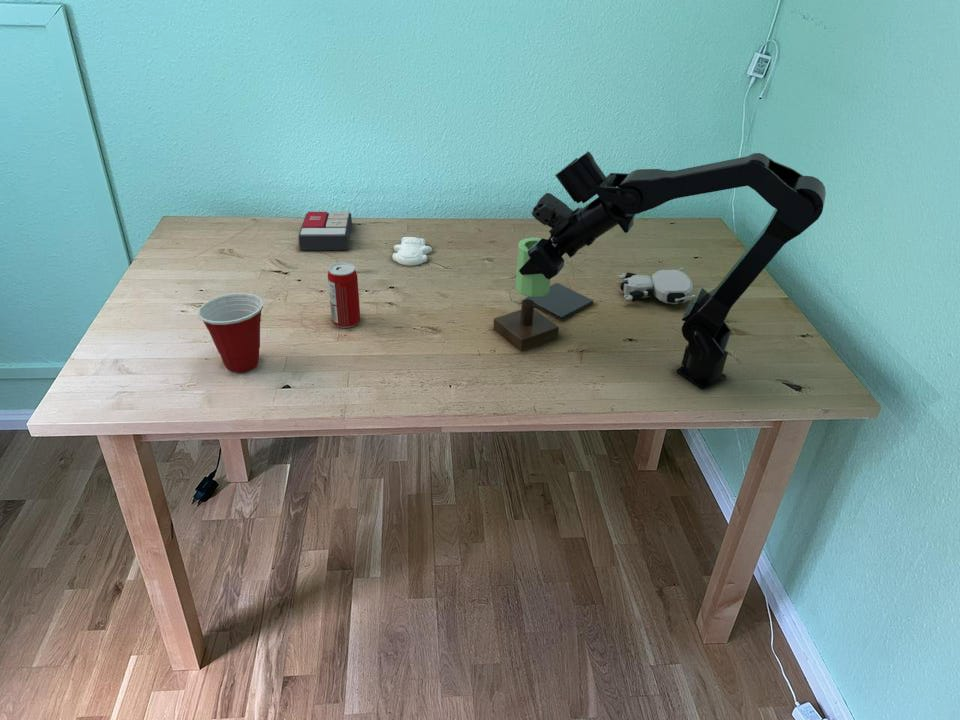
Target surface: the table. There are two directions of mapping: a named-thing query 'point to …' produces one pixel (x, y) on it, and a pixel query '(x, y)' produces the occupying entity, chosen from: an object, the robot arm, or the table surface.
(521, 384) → the table surface
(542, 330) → the stacking stand
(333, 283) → the soda can
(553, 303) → the slate coaster
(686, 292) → the robot toy
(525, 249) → the green faceted hollow cylinder
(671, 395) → the table surface
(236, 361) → the plastic cup
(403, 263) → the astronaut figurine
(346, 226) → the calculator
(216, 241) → the table surface
